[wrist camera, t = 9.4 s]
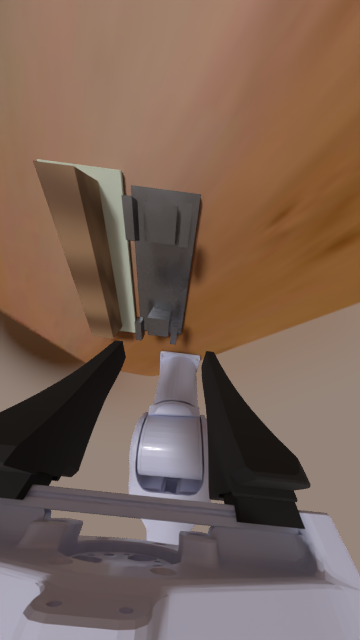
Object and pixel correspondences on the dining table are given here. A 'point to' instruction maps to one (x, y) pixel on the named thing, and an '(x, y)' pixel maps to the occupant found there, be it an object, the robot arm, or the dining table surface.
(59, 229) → the rail
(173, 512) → the robot arm
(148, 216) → the rack
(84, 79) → the dining table surface
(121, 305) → the mat
